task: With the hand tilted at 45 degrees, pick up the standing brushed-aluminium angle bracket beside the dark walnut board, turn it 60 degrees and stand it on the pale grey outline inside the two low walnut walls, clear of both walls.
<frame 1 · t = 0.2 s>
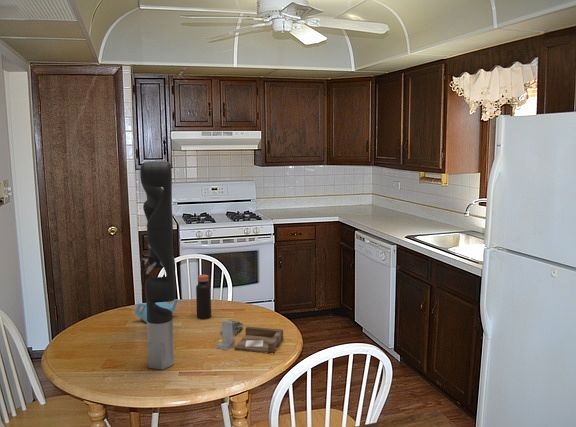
hand: (158, 280, 225), 22 cm above the table, tool pointing down, fingers open, 8 cm apart
bottle: (204, 317, 245), on the table
arena: (259, 344, 213), on the table
teapot: (157, 319, 242), on the table
bracket: (228, 345, 212), on the table
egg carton: (231, 332, 227), on the table
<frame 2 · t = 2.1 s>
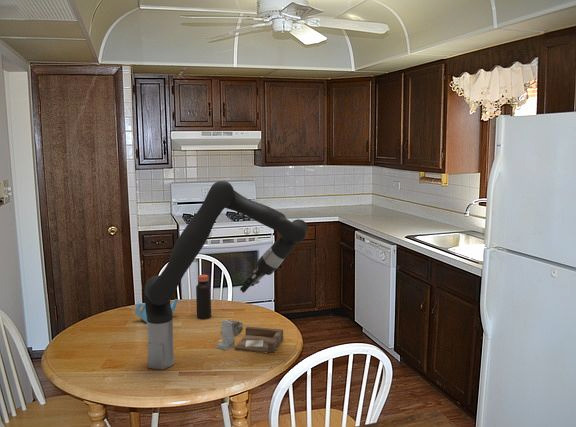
hand: (246, 287, 207), 25 cm above the table, tool tilted 40°, fingers open, 8 cm apart
nothing on the table moved.
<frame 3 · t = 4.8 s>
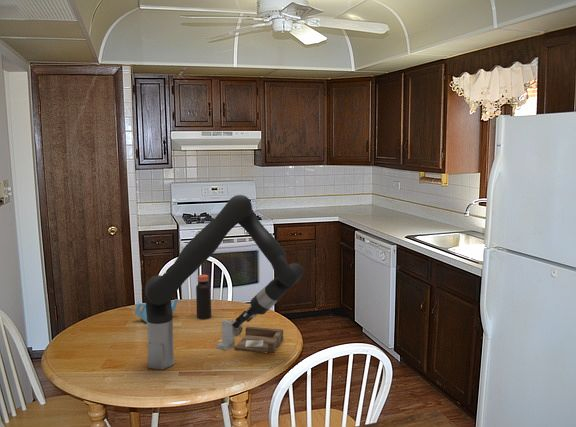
hand: (240, 323, 207), 10 cm above the table, tool tilted 45°, fingers open, 8 cm apart
nothing on the table moved.
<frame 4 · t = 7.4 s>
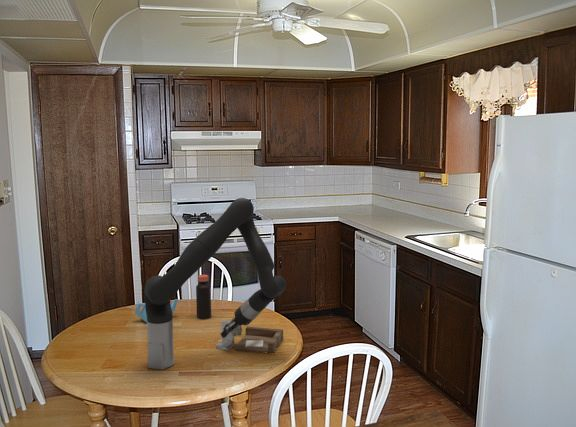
hand: (223, 335, 212), 4 cm above the table, tool tilted 45°, fingers closed on bracket
bracket: (228, 345, 212), on the table, touching gripper
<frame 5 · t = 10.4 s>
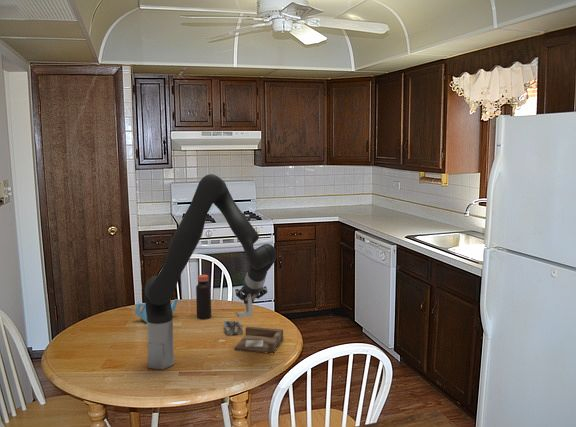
hand: (247, 302, 212), 17 cm above the table, tool tilted 45°, fingers closed on bracket
bracket: (249, 315, 211), point 12 cm above the table, tilted 12°, touching gripper
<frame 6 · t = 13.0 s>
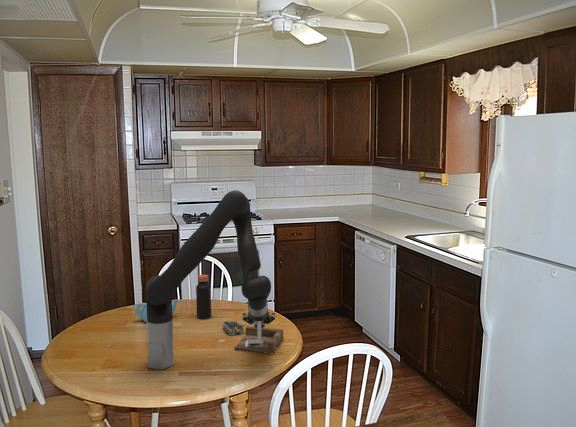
hand: (259, 326, 212), 8 cm above the table, tool tilted 45°, fingers closed on bracket
bracket: (259, 342, 210), point 2 cm above the table, tilted 15°, touching arena, gripper
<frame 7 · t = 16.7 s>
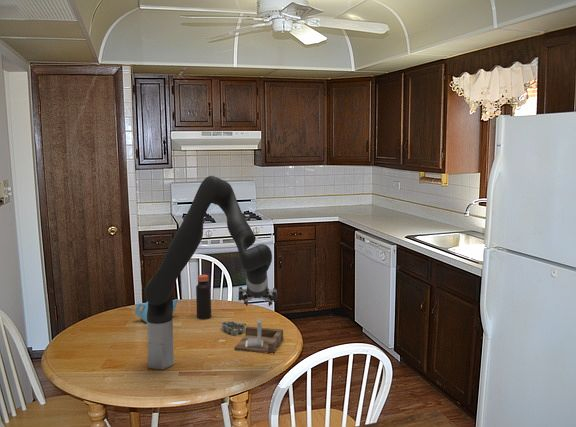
hand: (258, 303, 196), 22 cm above the table, tool tilted 45°, fingers open, 8 cm apart
bracket: (259, 344, 210), point 1 cm above the table, touching arena
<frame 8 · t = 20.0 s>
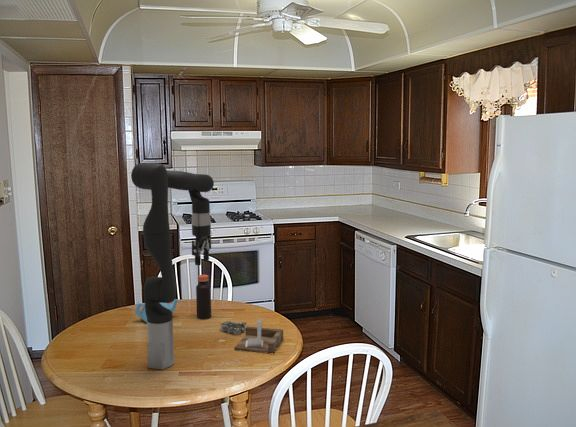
hand: (202, 262, 213), 33 cm above the table, tool pointing down, fingers open, 8 cm apart
at the end: bracket 0.9 cm from the target spot on the arena, point 1.2 cm above the arena's base; bracket tilted 0°; the gripper is holding nothing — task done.
